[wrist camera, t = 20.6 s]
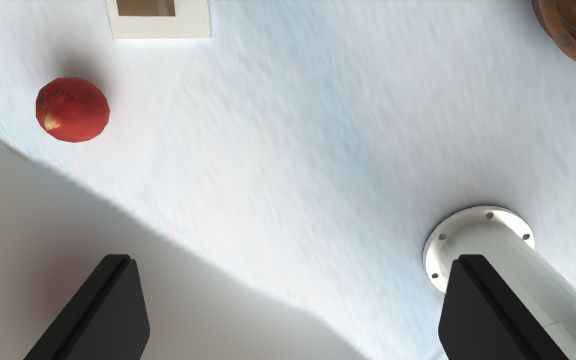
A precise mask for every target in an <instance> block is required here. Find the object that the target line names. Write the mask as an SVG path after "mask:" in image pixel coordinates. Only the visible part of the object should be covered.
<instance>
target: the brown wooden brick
mask: <svg viewBox="0 0 576 360" xmlns="http://www.w3.org/2000/svg"><path fill="white" fill-rule="evenodd" d="M116 3H117V9H118V14H119V16H137V17H176V15H175V6H174V0H116Z"/></svg>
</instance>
